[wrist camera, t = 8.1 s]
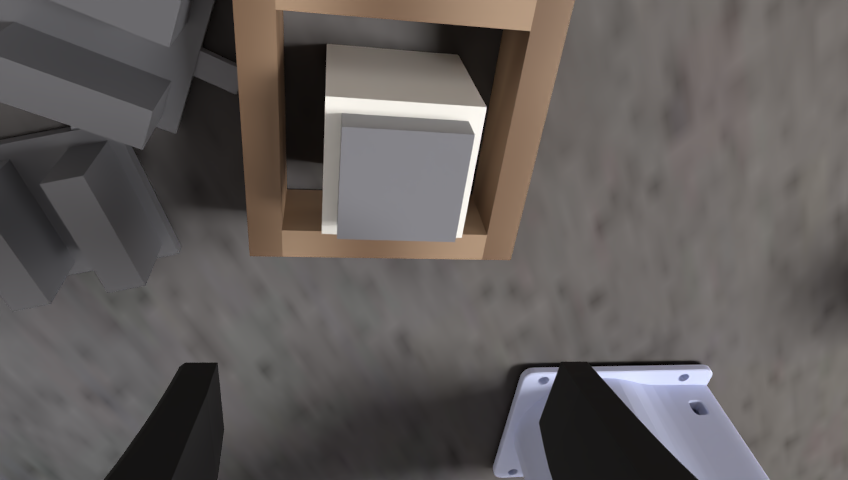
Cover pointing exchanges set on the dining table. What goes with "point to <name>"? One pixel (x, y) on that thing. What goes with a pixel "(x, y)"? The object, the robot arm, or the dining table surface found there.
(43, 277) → the clip
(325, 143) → the white boxy piece
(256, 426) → the dining table surface
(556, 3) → the frame
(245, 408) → the dining table surface
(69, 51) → the clip
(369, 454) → the dining table surface
